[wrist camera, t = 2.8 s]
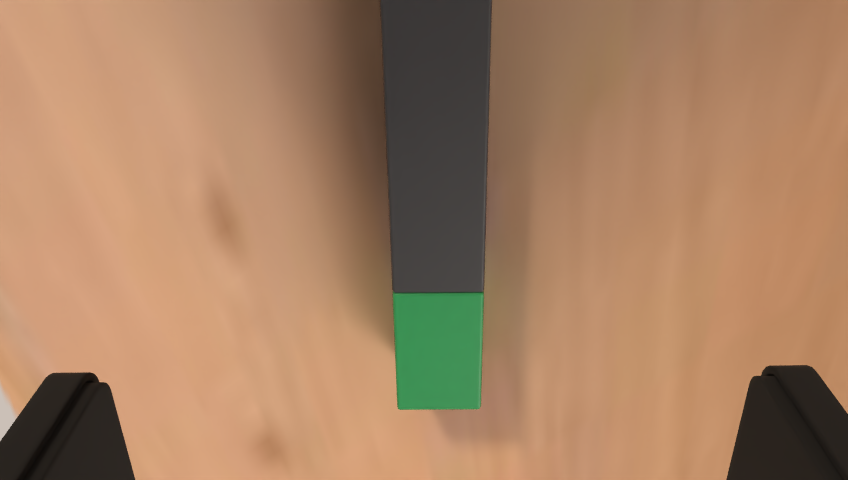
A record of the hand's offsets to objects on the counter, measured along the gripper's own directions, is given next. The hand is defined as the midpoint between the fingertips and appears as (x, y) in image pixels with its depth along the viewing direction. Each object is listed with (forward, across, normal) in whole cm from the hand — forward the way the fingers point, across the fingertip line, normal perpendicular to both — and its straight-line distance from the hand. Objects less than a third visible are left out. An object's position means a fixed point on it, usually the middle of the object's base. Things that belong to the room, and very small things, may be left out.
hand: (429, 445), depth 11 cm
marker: (+11, 0, -1) cm, 11 cm away
